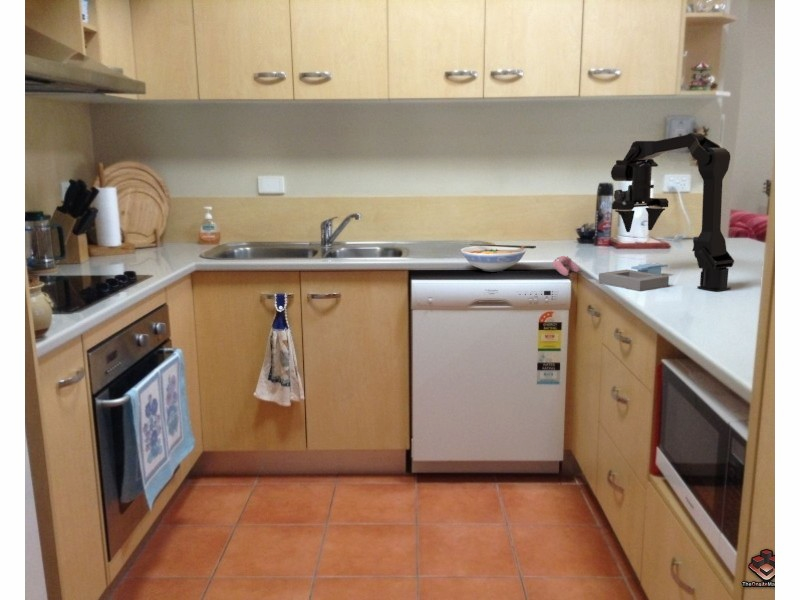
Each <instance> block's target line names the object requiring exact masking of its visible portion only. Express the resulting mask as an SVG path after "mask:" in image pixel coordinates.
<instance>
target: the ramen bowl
mask: <svg viewBox="0 0 800 600" xmlns="http://www.w3.org/2000/svg"><path fill="white" fill-rule="evenodd" d="M536 248H537V246H536V245H514V244H513V245H511V244H506V245H504V244H498V245H497V244H478V245H474V244H473V243H471V244H469V246H466V247H463V248H461V249H460V252H461V253H462V255H463V256H464V258H465V259H466V261H467V262H468V263H469V265H471V266H473V267H475V268H478V269H481V270H482V271H484V272H491V273H494V272H503V271H505V270H506V269H509V268H511V267H513V266H514V265H516V264H517V263H519V262H520V261H521V260H522V258H523V257H524V255H525V254H526V251H527V249H536Z"/></svg>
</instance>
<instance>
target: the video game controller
mask: <svg viewBox="0 0 800 600" xmlns="http://www.w3.org/2000/svg"><path fill="white" fill-rule="evenodd" d="M552 265H553V268H554V270H556V271H557V272H558V273H559V274H561V275H562V276H564V277H567V276H568V275H569V272H570V271H572V272H574V273H579V272H580V267H579V266H578V264H576V263H575V262H574V261H573V260H572V258H571V257H569V256H565V255H562V256H559V257H557V258H555V259H554V260H553V261H552Z"/></svg>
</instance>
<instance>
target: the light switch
mask: <svg viewBox="0 0 800 600" xmlns="http://www.w3.org/2000/svg"><path fill="white" fill-rule="evenodd" d="M669 279H670V276H669V275H664V274H663V275H662V274H661V275H657V274H651V273H645V272H639V271H638V270H634V269H621V270H613V271H606V272H599V273H598V284H603V285H607V286H613V287H617V288H618V287H619V288H622V289H623V288H624V289H627V290H632V291H638V292H643V291H649V290H655V289H662V288H667V287H668V288H669V284H670V283H669V282H670V280H669ZM661 287H662V288H661Z"/></svg>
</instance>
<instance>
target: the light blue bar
mask: <svg viewBox="0 0 800 600" xmlns="http://www.w3.org/2000/svg"><path fill="white" fill-rule="evenodd" d="M667 267H668V264H666V263H660V262H656V263H652V262H651V263H643V264H638V265H635V266H630V268H631V269H630V270H636V271H639V272H645V273H651V274H657V275H662V268H667Z"/></svg>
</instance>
